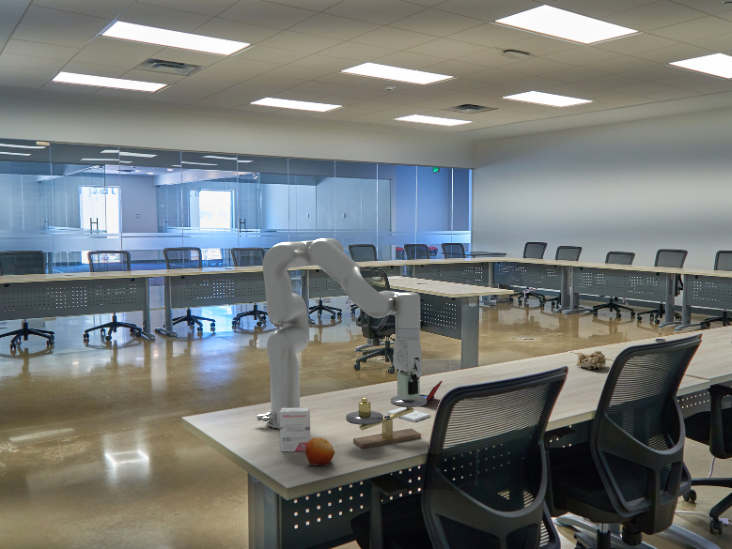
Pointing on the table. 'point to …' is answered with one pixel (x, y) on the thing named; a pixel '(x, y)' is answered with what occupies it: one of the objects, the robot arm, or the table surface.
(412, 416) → the external hard drive
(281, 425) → the ink box
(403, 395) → the sage block
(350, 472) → the table surface
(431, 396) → the handheld game console
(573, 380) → the table surface
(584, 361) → the mineral formation
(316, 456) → the fruit
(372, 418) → the balance
